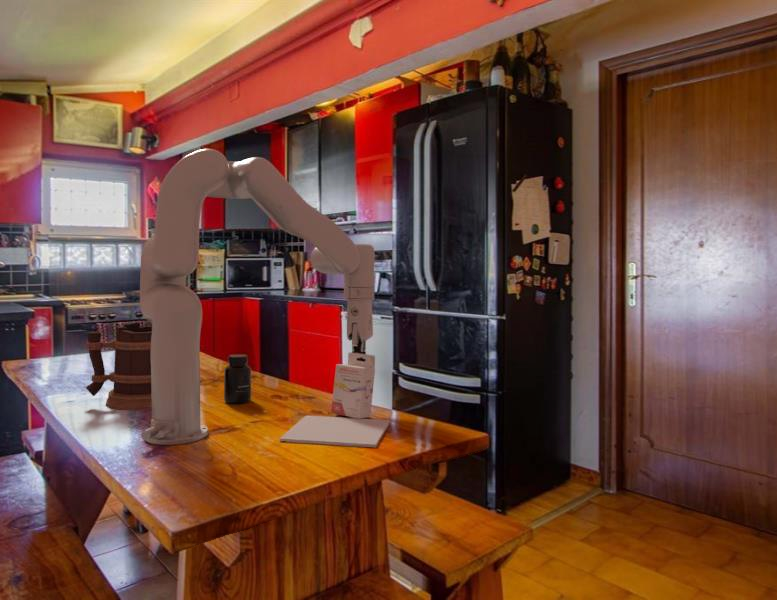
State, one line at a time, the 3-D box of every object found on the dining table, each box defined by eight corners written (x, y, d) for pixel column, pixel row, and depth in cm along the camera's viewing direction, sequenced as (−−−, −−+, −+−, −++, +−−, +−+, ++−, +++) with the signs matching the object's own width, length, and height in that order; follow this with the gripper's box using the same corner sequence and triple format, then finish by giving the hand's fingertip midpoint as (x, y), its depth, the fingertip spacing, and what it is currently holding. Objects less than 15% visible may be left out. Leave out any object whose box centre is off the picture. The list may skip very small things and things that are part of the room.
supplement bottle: (244, 405, 149) (244, 358, 148) (219, 403, 150) (219, 357, 149) (255, 399, 155) (255, 354, 154) (231, 397, 157) (231, 353, 156)
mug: (82, 399, 152) (80, 323, 151) (173, 390, 165) (172, 319, 163) (91, 416, 137) (89, 331, 135) (190, 404, 149) (190, 326, 148)
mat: (375, 447, 116) (375, 444, 116) (279, 441, 120) (279, 438, 120) (389, 422, 134) (389, 420, 134) (305, 418, 137) (305, 415, 137)
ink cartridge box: (329, 413, 139) (336, 351, 140) (342, 412, 143) (348, 351, 144) (359, 419, 134) (365, 354, 135) (371, 417, 138) (377, 355, 139)
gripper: (368, 296, 138) (367, 373, 139) (379, 292, 152) (378, 362, 154) (337, 295, 139) (336, 372, 140) (351, 292, 154) (350, 361, 155)
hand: (358, 367), depth 147 cm, fingers closed
